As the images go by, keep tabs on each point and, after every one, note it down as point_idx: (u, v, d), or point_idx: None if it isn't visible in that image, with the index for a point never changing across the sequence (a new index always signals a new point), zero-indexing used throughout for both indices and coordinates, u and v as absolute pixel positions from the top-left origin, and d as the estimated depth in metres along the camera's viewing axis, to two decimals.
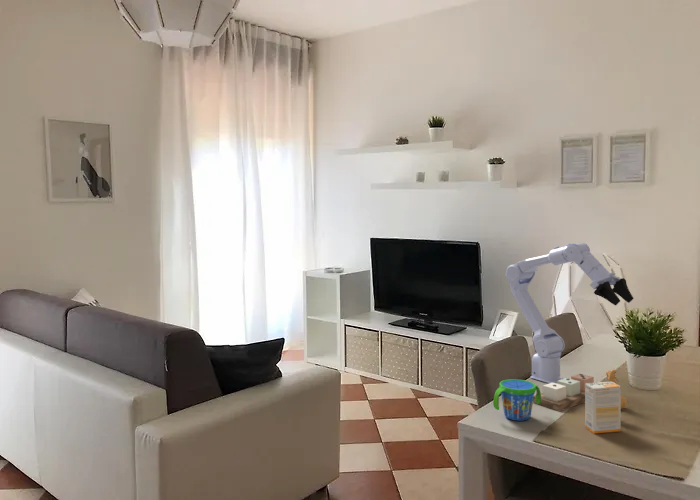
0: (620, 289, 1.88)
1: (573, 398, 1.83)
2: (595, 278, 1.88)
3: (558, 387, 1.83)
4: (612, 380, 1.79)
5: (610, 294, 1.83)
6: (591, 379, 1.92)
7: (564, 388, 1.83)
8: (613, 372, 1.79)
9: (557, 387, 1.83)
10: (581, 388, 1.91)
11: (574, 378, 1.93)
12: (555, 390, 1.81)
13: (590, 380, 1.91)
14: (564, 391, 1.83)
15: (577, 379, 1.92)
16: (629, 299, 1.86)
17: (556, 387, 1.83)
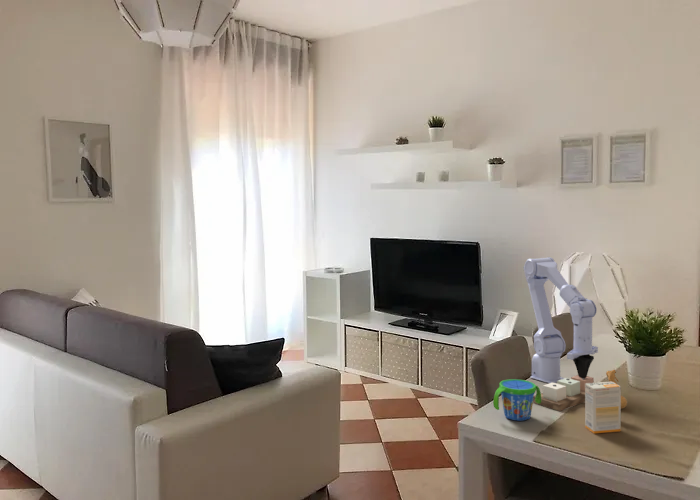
0: (583, 362, 1.93)
1: (573, 398, 1.83)
2: (576, 346, 1.91)
3: (558, 387, 1.83)
4: (612, 380, 1.79)
5: (582, 367, 1.92)
6: (591, 380, 1.92)
7: (564, 388, 1.83)
8: (613, 372, 1.79)
9: (557, 387, 1.83)
10: (581, 389, 1.91)
11: (574, 379, 1.93)
12: (555, 390, 1.81)
13: (590, 381, 1.91)
14: (564, 391, 1.83)
15: (577, 380, 1.92)
16: None
17: (556, 387, 1.83)
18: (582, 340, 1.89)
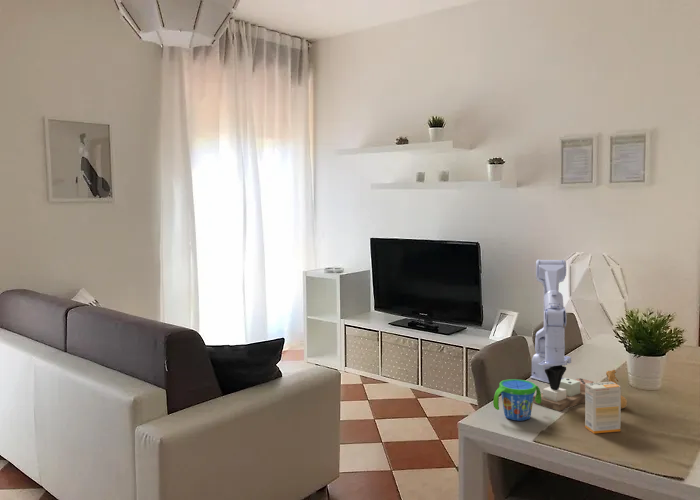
0: None
1: (573, 398, 1.83)
2: (548, 356, 1.82)
3: (558, 390, 1.83)
4: (612, 380, 1.79)
5: (554, 379, 1.83)
6: None
7: (564, 391, 1.83)
8: (613, 372, 1.79)
9: (557, 390, 1.83)
10: None
11: None
12: (555, 393, 1.81)
13: None
14: (564, 394, 1.83)
15: None
16: None
17: (556, 390, 1.83)
18: (554, 350, 1.81)
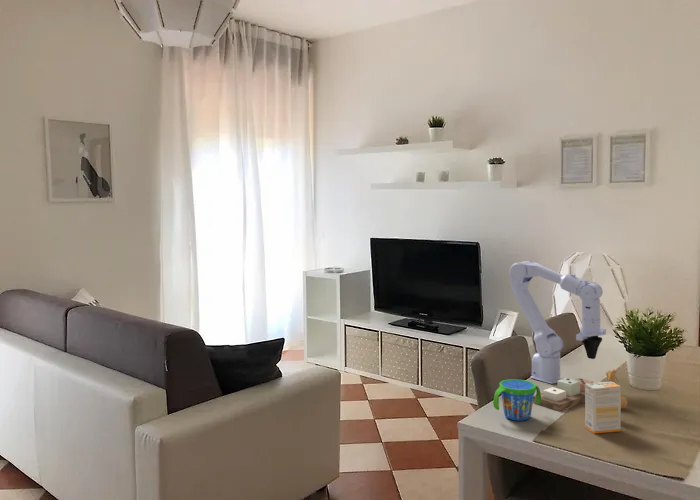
0: None
1: (573, 398, 1.83)
2: (585, 327, 1.96)
3: (558, 392, 1.83)
4: (612, 380, 1.79)
5: (591, 349, 1.97)
6: None
7: (564, 393, 1.83)
8: (613, 372, 1.79)
9: (557, 392, 1.83)
10: None
11: None
12: (555, 395, 1.81)
13: None
14: (564, 396, 1.83)
15: None
16: None
17: (556, 392, 1.83)
18: (591, 322, 1.95)
